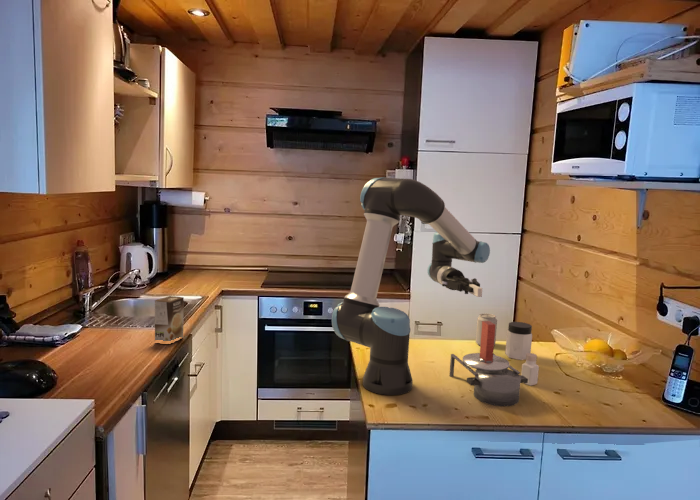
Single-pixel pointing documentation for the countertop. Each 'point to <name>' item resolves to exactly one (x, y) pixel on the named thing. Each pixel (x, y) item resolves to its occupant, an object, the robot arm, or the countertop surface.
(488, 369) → the lid
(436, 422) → the countertop surface
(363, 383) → the robot arm
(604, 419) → the countertop surface
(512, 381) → the cooker
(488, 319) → the can
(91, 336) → the countertop surface
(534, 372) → the salt shaker
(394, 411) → the countertop surface
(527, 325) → the jar
